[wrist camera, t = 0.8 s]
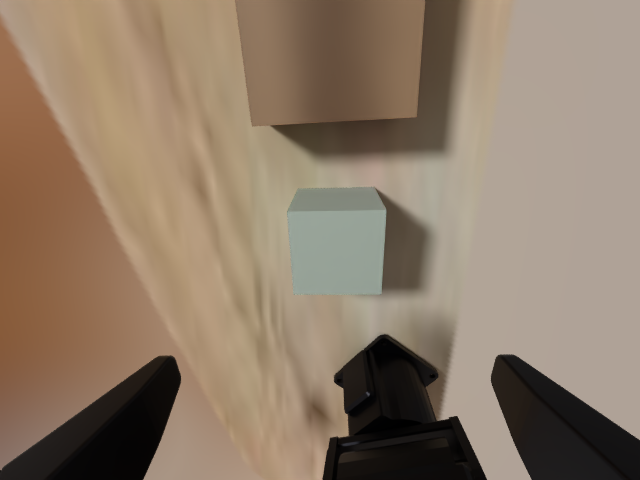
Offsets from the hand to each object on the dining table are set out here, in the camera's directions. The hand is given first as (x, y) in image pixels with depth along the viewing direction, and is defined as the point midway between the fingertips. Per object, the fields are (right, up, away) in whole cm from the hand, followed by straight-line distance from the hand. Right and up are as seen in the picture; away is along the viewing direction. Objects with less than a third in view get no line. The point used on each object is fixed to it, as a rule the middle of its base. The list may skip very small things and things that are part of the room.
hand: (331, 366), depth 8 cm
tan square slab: (0, +14, +8) cm, 17 cm away
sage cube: (+1, +5, +12) cm, 13 cm away
